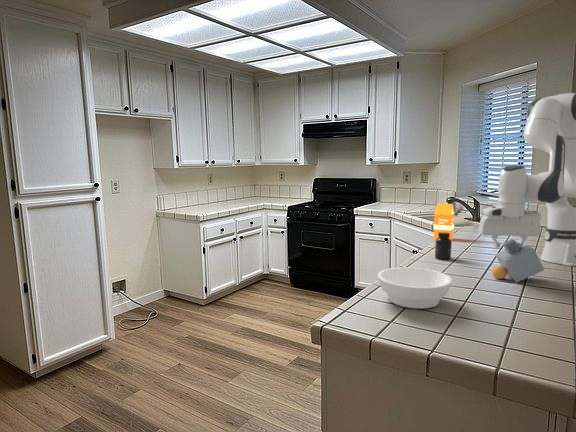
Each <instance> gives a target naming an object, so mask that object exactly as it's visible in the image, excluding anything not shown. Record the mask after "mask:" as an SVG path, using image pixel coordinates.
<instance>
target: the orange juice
mask: <svg viewBox="0 0 576 432" xmlns="http://www.w3.org/2000/svg"><path fill="white" fill-rule="evenodd" d="M433 223H434V225H433V240H434V241H436V239H437V238H439V237H438V232H448V233H450V237H449V238H450V239H451V241H452V240H454V234H455V233H454V231H455V210H454V204H452V203H450V204H449V203H436V206H435V210H434V221H433Z"/></svg>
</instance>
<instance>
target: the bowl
mask: <svg viewBox="0 0 576 432" xmlns="http://www.w3.org/2000/svg"><path fill="white" fill-rule="evenodd" d="M377 279H378V281H379V285H380V287H381V289H382V291H383V292H384V293H386V295H387V297H388V300H389V301H390V302H391V303H393V304H394V305H397V306H399V307H404V308H409V309H429V308H434V307H436V306H438V305H439V303H440V301H441V299H442V298H444V297H445V296H447V294H448V292H449V290H450V289H451V285H452V284H453V279H452V277H451V276H449V275H448V274H446V273H444V272H441V271H437V270H433V269H429V268H423V267H422V268H421V267H413V266H412V267H410V266H408V267H403V266H402V267H401V266H400V267H391V268H386V269H383V270H381V271H379V272H378V273H377Z"/></svg>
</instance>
